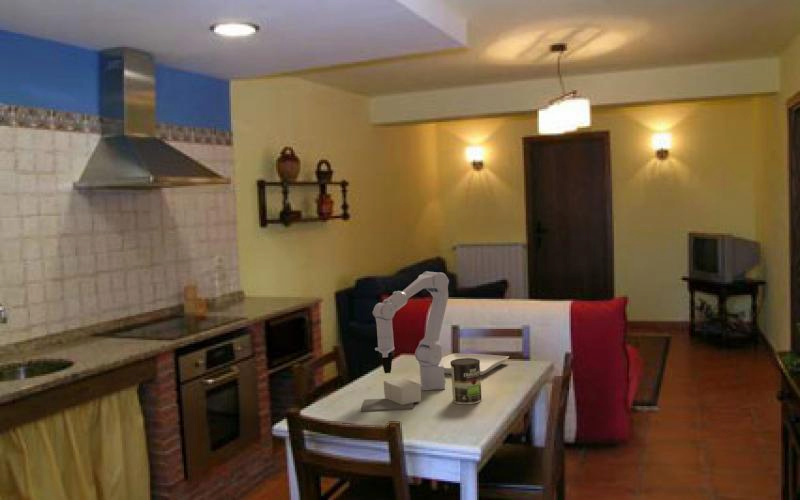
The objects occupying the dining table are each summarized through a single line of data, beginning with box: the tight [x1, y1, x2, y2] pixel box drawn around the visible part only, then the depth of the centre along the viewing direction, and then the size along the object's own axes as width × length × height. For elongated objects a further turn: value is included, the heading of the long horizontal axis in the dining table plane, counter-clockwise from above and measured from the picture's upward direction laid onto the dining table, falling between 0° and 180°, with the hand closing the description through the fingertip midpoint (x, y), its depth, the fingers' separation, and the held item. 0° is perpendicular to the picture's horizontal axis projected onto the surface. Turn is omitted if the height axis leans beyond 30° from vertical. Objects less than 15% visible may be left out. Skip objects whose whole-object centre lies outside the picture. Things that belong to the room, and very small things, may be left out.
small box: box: [383, 377, 422, 405], centre depth 259 cm, size 8×6×13 cm
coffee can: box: [450, 358, 483, 406], centre depth 254 cm, size 10×10×14 cm
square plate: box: [439, 353, 510, 376], centre depth 301 cm, size 27×27×4 cm
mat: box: [360, 397, 415, 413], centre depth 255 cm, size 18×13×1 cm
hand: (387, 372), depth 264 cm, fingers closed
